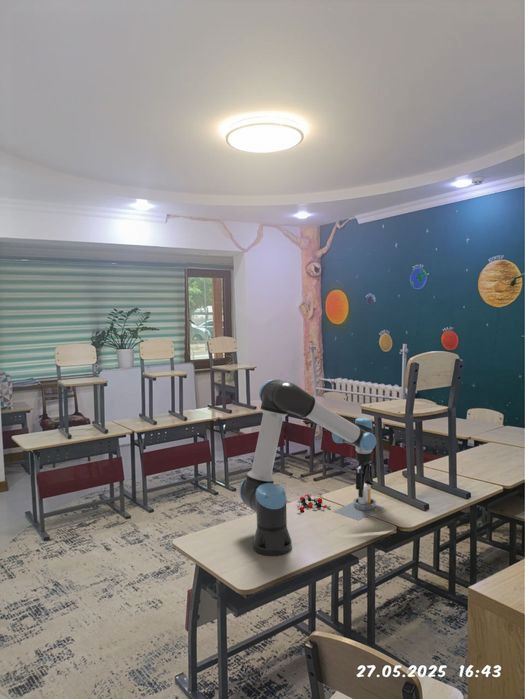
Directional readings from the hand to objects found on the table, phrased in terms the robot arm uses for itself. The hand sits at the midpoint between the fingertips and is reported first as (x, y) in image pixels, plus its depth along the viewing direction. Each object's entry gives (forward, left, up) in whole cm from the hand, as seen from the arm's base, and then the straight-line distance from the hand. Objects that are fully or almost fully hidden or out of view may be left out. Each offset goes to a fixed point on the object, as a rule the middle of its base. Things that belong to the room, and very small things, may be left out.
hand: (364, 500), depth 226 cm
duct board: (-4, -3, -4) cm, 6 cm away
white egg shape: (0, 0, -3) cm, 3 cm away
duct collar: (0, 0, -3) cm, 3 cm away
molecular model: (-23, +7, -4) cm, 24 cm away
